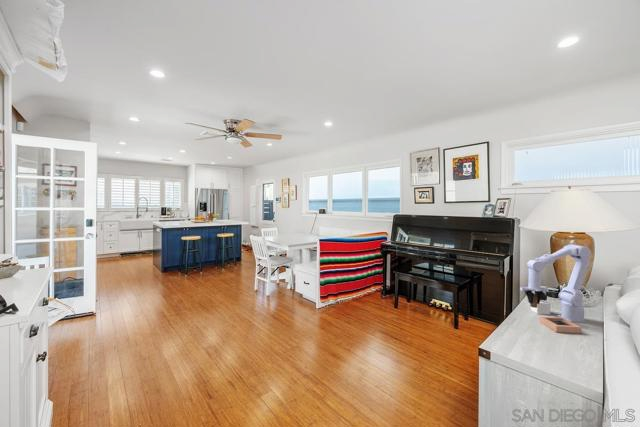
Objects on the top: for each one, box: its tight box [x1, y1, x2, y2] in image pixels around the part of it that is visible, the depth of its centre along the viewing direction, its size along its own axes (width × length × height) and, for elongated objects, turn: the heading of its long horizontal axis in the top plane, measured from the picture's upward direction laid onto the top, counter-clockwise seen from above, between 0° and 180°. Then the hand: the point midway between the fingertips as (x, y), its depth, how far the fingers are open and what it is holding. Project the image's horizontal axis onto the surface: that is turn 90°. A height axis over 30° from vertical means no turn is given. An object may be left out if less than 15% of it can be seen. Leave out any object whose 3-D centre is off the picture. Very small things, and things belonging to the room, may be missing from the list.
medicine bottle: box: [530, 293, 551, 316], centre depth 166 cm, size 7×7×12 cm
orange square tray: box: [539, 316, 582, 335], centre depth 145 cm, size 12×12×4 cm
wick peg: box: [529, 293, 538, 308], centre depth 157 cm, size 3×3×7 cm
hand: (533, 303), depth 158 cm, fingers closed on wick peg, 3 cm apart
